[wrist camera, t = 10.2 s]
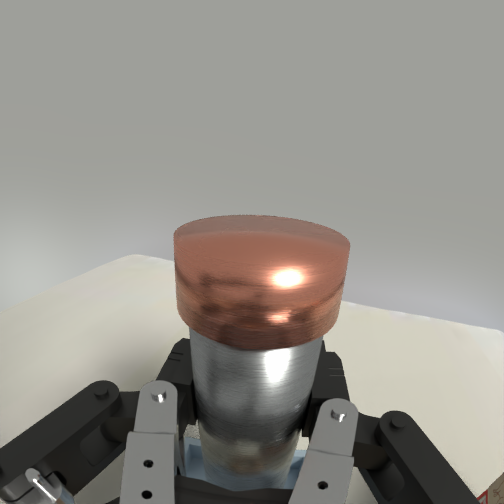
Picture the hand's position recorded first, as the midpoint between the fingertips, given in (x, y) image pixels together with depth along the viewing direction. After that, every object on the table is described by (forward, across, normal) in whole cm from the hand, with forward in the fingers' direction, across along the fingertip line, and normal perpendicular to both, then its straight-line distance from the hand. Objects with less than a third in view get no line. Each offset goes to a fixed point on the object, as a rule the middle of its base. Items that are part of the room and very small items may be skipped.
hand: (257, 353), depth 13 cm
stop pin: (-3, 0, +8) cm, 8 cm away
